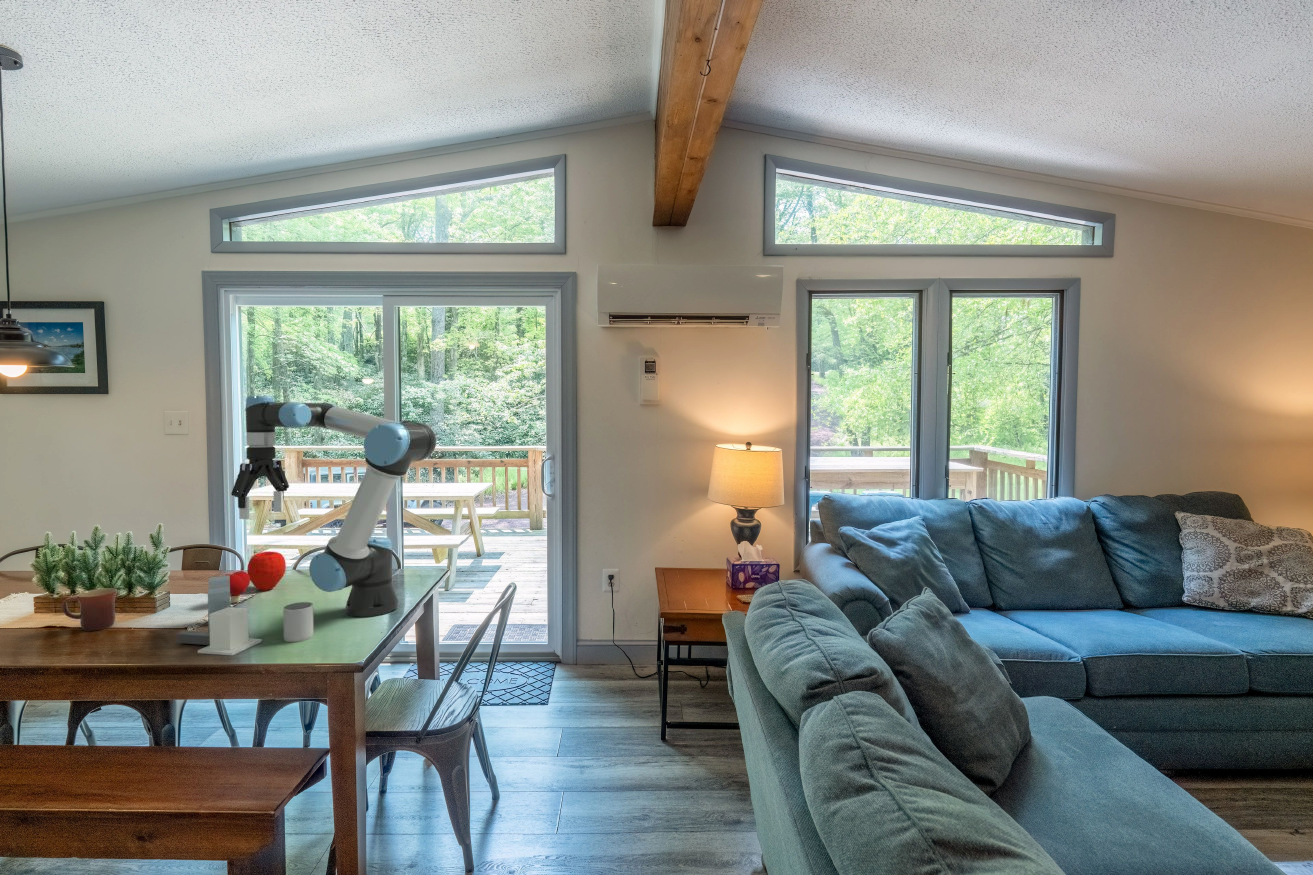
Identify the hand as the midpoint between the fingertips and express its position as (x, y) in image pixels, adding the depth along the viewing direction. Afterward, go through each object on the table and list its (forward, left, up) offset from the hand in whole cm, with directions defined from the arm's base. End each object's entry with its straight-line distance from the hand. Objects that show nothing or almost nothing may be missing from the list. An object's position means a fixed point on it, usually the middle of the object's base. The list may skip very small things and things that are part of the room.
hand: (262, 515), depth 192 cm
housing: (+2, +14, -31) cm, 34 cm away
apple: (+19, -24, -31) cm, 44 cm away
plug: (-6, +25, -30) cm, 40 cm away
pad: (-12, +26, -31) cm, 42 cm away
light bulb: (+17, -8, -31) cm, 36 cm away
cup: (-24, +15, -31) cm, 42 cm away
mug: (+38, +20, -31) cm, 53 cm away
